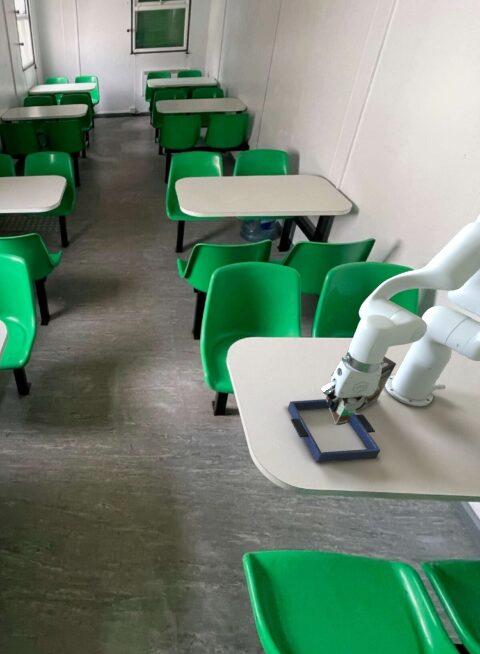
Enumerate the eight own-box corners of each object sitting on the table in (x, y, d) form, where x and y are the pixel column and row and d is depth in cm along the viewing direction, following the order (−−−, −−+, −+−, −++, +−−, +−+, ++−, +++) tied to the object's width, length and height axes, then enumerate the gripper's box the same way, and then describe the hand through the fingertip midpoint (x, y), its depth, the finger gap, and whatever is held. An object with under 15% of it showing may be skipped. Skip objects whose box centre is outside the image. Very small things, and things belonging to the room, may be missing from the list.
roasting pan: (347, 404, 130) (351, 397, 128) (384, 457, 115) (389, 450, 113) (279, 409, 129) (282, 401, 127) (307, 463, 114) (311, 455, 112)
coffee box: (358, 412, 128) (377, 374, 118) (339, 398, 132) (356, 360, 123) (377, 401, 131) (397, 363, 121) (358, 387, 136) (376, 350, 126)
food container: (362, 431, 112) (373, 406, 106) (337, 429, 113) (347, 405, 107) (346, 395, 122) (356, 371, 116) (324, 394, 123) (332, 370, 117)
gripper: (336, 373, 102) (317, 420, 113) (406, 367, 103) (380, 415, 113) (321, 352, 108) (305, 399, 119) (387, 346, 109) (365, 394, 119)
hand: (342, 406), depth 116 cm, fingers closed on food container, 5 cm apart
